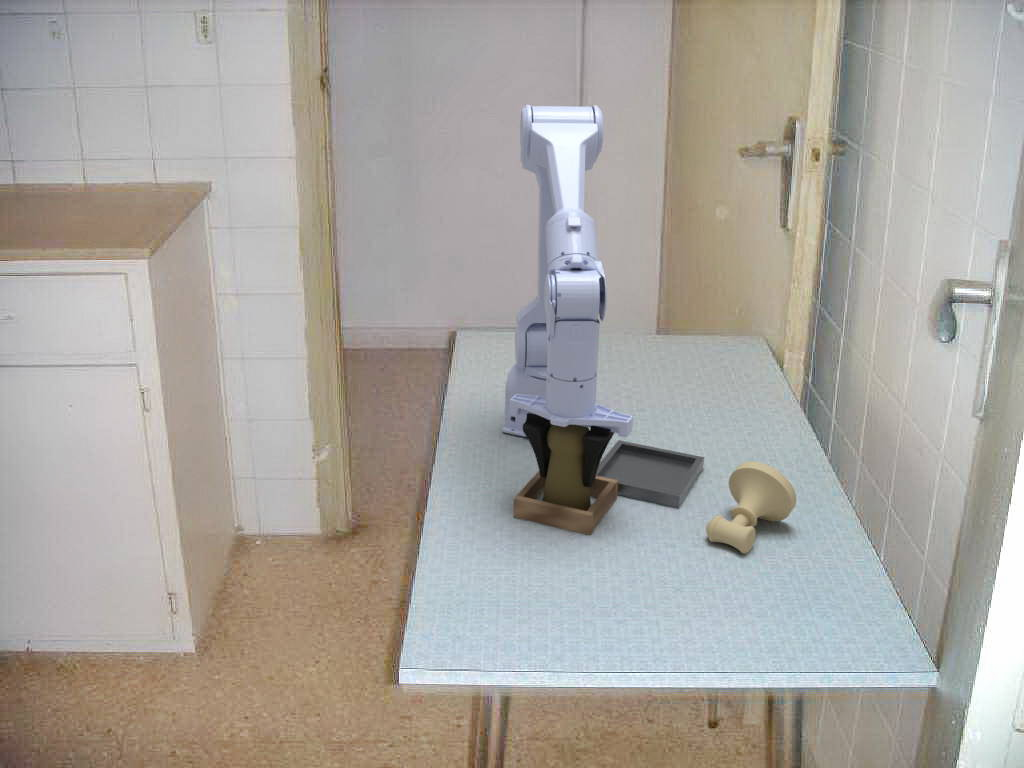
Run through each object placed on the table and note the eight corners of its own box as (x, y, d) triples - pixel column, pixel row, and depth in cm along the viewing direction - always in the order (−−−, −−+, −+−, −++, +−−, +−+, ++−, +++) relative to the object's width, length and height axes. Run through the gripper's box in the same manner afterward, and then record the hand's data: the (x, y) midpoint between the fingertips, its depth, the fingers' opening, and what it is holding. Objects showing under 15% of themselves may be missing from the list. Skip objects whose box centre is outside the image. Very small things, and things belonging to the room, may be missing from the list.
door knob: (756, 529, 117) (691, 506, 121) (759, 580, 121) (696, 556, 126) (795, 473, 122) (731, 453, 127) (796, 523, 127) (734, 502, 132)
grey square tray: (587, 488, 135) (588, 476, 134) (617, 450, 144) (618, 440, 144) (678, 508, 130) (679, 496, 130) (703, 468, 140) (704, 457, 140)
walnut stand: (513, 516, 128) (513, 498, 127) (544, 482, 136) (544, 464, 135) (590, 535, 124) (591, 515, 123) (617, 498, 132) (618, 480, 131)
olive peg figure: (600, 504, 131) (605, 421, 127) (575, 525, 126) (579, 440, 122) (557, 490, 134) (560, 409, 130) (531, 510, 129) (533, 427, 125)
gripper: (499, 373, 122) (497, 480, 128) (621, 395, 117) (614, 506, 122) (523, 353, 128) (521, 456, 134) (641, 373, 123) (633, 480, 128)
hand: (567, 478), depth 128 cm, fingers closed on olive peg figure, 5 cm apart
